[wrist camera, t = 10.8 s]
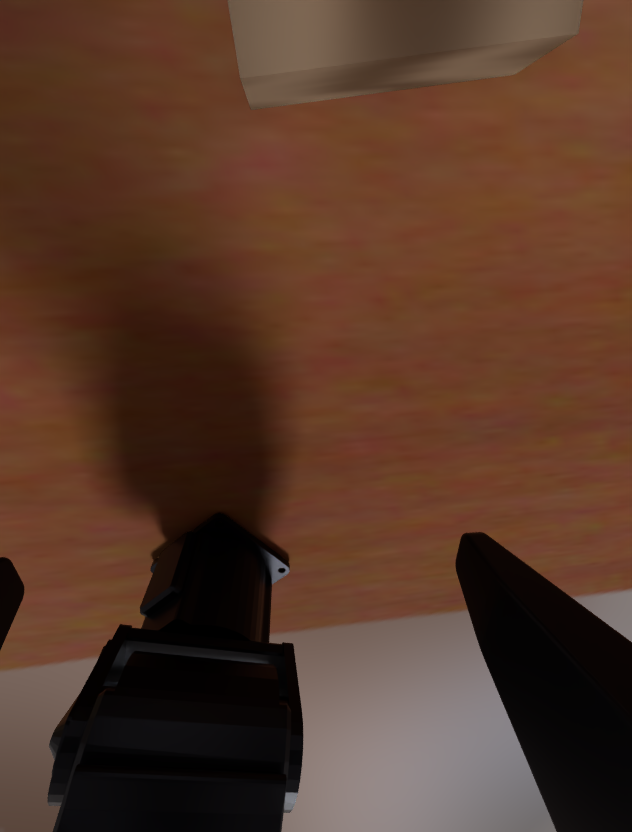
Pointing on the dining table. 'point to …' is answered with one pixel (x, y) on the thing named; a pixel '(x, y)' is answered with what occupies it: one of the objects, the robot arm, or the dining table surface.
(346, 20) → the beige block
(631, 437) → the dining table surface
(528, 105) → the dining table surface
